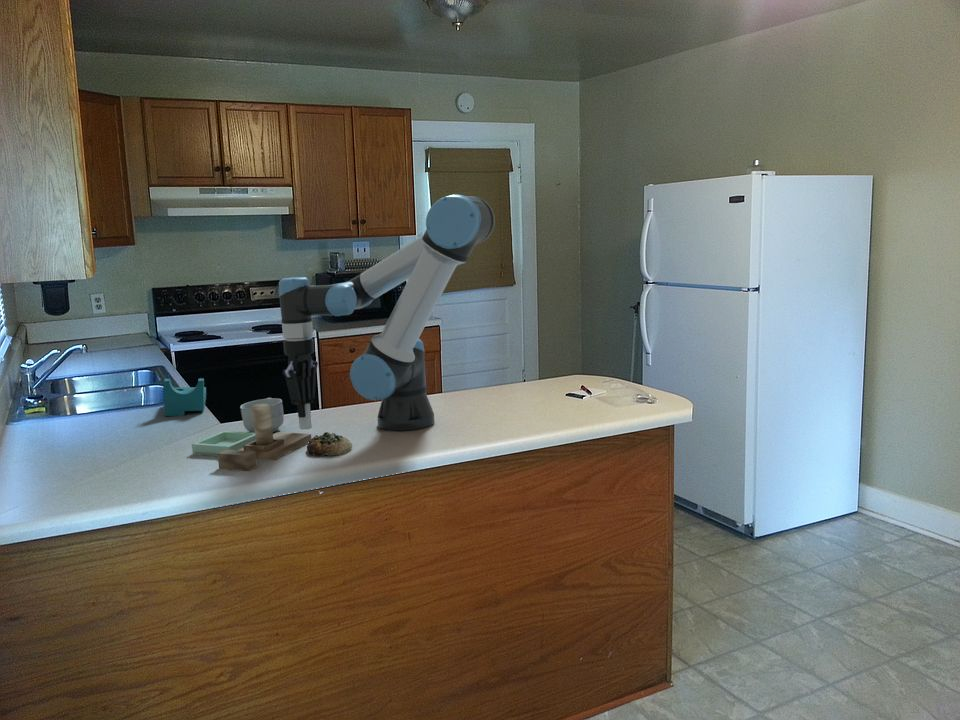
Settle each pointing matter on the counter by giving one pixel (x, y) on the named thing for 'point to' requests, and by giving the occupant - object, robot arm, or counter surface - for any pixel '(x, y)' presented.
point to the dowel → (262, 424)
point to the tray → (222, 442)
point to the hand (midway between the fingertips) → (305, 428)
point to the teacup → (275, 410)
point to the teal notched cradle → (183, 398)
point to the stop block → (237, 460)
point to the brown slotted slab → (278, 445)
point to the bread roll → (328, 445)
